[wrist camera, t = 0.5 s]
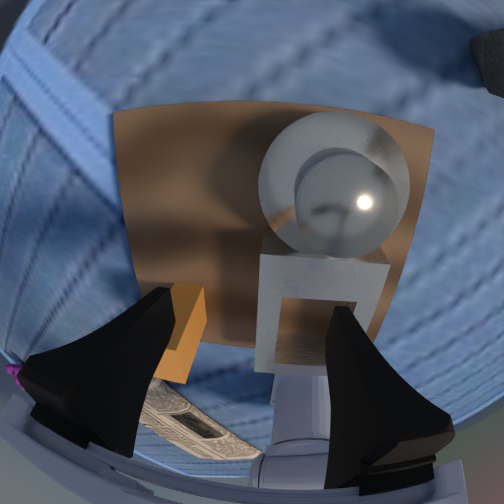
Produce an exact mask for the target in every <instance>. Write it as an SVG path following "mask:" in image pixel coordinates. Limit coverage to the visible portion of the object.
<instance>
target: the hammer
mask: <svg viewBox="0 0 504 504" xmlns="http://www.w3.org/2000/svg"><path fill="white" fill-rule="evenodd" d="M470 47H471V49H472V51H473V54H474V56H475V59H476V62H477V64H478V67H479V70H480V72H481V75H482V78H483V81H484V85H485V87H486V89H487V90H488V91H489V93H491V94H494V95H496V96H499V97H502V98H504V29H501V30H494V31H489V32H485V33H482V34H479V35H477V36H475V37H474V38H472V39H470Z"/></svg>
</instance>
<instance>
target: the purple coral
mask: <svg viewBox="0 0 504 504" xmlns="http://www.w3.org/2000/svg"><path fill="white" fill-rule="evenodd" d="M21 368H22V366H20V365H15V364H8V365H6V369H7V373H8V374H12V375H15V379H14V381H15V383H16V384H17V385H20V388H21V389H22V390H25V389H24V388H23V387H22V386H21V384H20V383H19V381H18V380H17V373H18V372H19V370H20V369H21Z"/></svg>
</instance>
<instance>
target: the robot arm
mask: <svg viewBox="0 0 504 504" xmlns="http://www.w3.org/2000/svg"><path fill="white" fill-rule="evenodd" d="M175 323H176V319H175V314H174V308H173V302H172V297H171V291H170V288H166V287H159V286H158V287H156V288H155V289H154V290H152V291H151V292H150V293H148V294H147V295H146V296H144V297H143V298H142V299H141V300H139V301H138V302H137V303H135V304H134V305H133V306H131V307H130V308H129V309H127V310H126V311H125V312H123V313H122V314H120V315H119V316H117V317H116V318H115V319H113V320H112V321H110V322H109V323H107V324H106V325H104V326H102V327H101V328H99V329H97V330H96V331H94V332H92V333H90V334H88V335H86V336H84V337H82V338H80V339H78V340H76V341H74V342H72V343H69V344H67V345H64V346H62V347H59V348H56V349H53V350H50V351H47V352H43V353H39V354H35V355H31V356H29V358H28V359H27V360H26V362H25V363H24V365H23V366H22V368H21V369H20V370H19V372H18V373H17V380H18V381H19V383H20V384H21V386H22V387H23V388H24V389H25V390H26V392H27V393H28V394H29V395H30V396H31V397H32V398H33V399H34V401H35V402H36V404H35V406H34V407H33V406H32V405H31V404H30V403H28V402H27V401H26V400H24V399H23V398H21V397H20V396H18V395H17V394H16V393H14V394H13V396H12V398H11V399H10V401H9V403H8V405H7V406H6V408H5V409H4V411H3V413H2V414H1V416H0V437H1V438H2V439H3V440H4V441H5V442H6V443H7V444H9V445H10V446H11V447H12V448H13V449H14V450H16V451H17V452H18V453H19V454H20V455H21V456H22V457H24V458H25V459H26V460H27V461H28V462H30V463H31V464H32V465H33V466H35V467H36V468H37V469H38V470H40V471H41V472H43V473H44V474H45V475H47V476H48V477H49V478H51V479H52V480H54V481H55V482H57V483H58V484H59V485H61V486H62V487H64V488H65V489H67V490H68V491H70V492H72V493H73V494H75V495H77V496H78V497H80V498H82V499H83V500H85V501H87V502H89V503H90V504H182V503H178V502H175V501H171V500H167V499H164V498H160V497H157V496H154V492H153V490H151V489H148V488H146V487H144V486H143V485H141V484H139V483H138V482H137V481H136V480H133V479H131V478H129V477H126V476H124V475H122V474H120V473H118V472H116V471H115V470H117V471H119V472H122V473H124V474H127V475H130V476H132V477H135V478H138V479H140V480H143V481H146V482H149V483H152V484H155V485H158V486H162V487H165V488H169V489H172V490H176V491H180V492H183V493H188V494H192V495H196V496H201V497H206V498H211V499H217V500H222V501H228V502H236V503H243V504H468V501H467V493H466V485H465V478H464V472H463V467H462V461H461V460H460V459H459V460H456V461H453V462H450V463H447V464H444V465H441V466H438V467H436V468H434V469H433V464H432V463H434V462H435V461H436V456H435V453H437V452H438V451H439V450H440V449H442V448H444V447H445V446H446V445H448V444H449V443H450V442H451V441H452V440H453V439H454V437H455V430H454V426H453V423H452V419H451V416H450V415H449V414H448V413H446V412H445V411H443V410H442V409H440V408H438V407H437V406H435V405H434V404H432V403H431V402H430V401H428V400H427V399H426V398H424V397H423V396H422V395H421V394H419V393H418V392H417V391H416V390H415V389H413V388H412V387H411V386H410V385H409V384H408V383H407V382H406V381H405V380H404V379H403V378H402V377H401V376H400V375H399V374H398V373H397V372H396V371H395V370H394V369H393V368H392V367H391V366H390V365H389V363H388V362H387V361H386V360H385V359H384V357H383V356H382V355H381V354H380V352H379V351H378V350H377V348H376V347H375V346H374V344H373V343H372V341H371V340H370V338H369V337H368V336H367V334H366V333H365V331H364V330H363V328H362V327H361V325H360V324H359V322H358V320H357V319H356V317H355V316H354V314H353V313H352V311H351V310H350V308H349V307H345V306H335V308H334V311H333V315H332V318H331V321H330V325H329V328H328V331H327V334H326V337H325V361H326V369H327V376H303V375H286V374H275V375H274V382H273V388H272V394H271V400H270V405H271V406H273V407H275V408H274V419H273V429H272V439H271V445H270V446H266V451H265V453H261V454H259V455H258V456H257V457H256V458H255V459H254V461H253V462H252V465H251V468H250V472H249V480H248V487H246V486H237V485H231V484H224V483H218V482H213V481H208V480H203V479H198V478H194V477H189V476H185V475H181V474H177V473H173V472H170V471H166V470H163V469H159V468H156V467H153V466H150V465H147V464H144V463H141V462H138V461H135V460H132V459H130V458H131V457H133V451H134V445H135V439H136V433H137V429H138V424H139V420H140V416H141V412H142V408H143V405H144V401H145V398H146V395H147V391H148V388H149V385H150V383H151V380H152V378H153V375H154V373H155V371H156V369H157V367H158V365H159V363H160V360H161V358H162V356H163V354H164V352H165V350H166V348H167V346H168V343H169V341H170V339H171V336H172V333H173V329H174V326H175ZM114 469H115V470H114Z"/></svg>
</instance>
